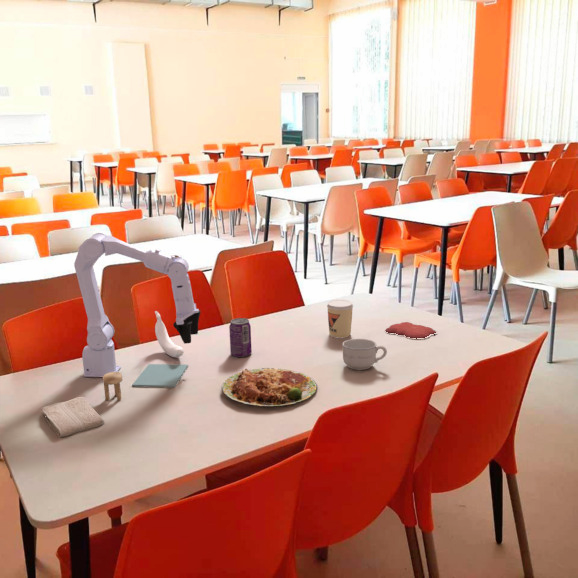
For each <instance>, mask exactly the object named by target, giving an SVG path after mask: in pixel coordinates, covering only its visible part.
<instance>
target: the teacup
mask: <svg viewBox="0 0 578 578" xmlns="http://www.w3.org/2000/svg"><path fill="white" fill-rule="evenodd" d="M341 344H342V359H343V362H344V364H345V365H346V366H348V367H349V368H350V369H351V370H356V371H362V370H368V369H370V368H371V367H372V366H373V365H374V364H376V363H378V362H379V361H380V360H383V359H384V358H386V355H387V353H388V351H387V348H386V347H385V346H384V345H377V342H376V341H373V340H372V339H366V338H352V339H347V340H344V341H343V342H342V343H341ZM378 350H382V351H383V353H382V354H381V355H380V356H378V357H377V354H378V352H379V351H378Z"/></svg>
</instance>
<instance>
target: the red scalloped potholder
mask: <svg viewBox="0 0 578 578" xmlns="http://www.w3.org/2000/svg"><path fill="white" fill-rule="evenodd" d="M385 331H386V332H388V333H396V334H398V335H405V336H406V337H410V338H416V339H417V338H425V337H427V336H429V335H430V334H434V333H436V332H437V331H436V330H435V329H433V328H431V327H428V326H425V325H421V324H414V323H412V322H409V321H405V322H400V323H395V324H392V325H390V326H389V327H387V328H386V329H385V330H384V332H385ZM386 332H385V333H386ZM388 333H387V334H388ZM396 334H395V335H396ZM398 335H397V336H398ZM406 337H405V338H406Z"/></svg>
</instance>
